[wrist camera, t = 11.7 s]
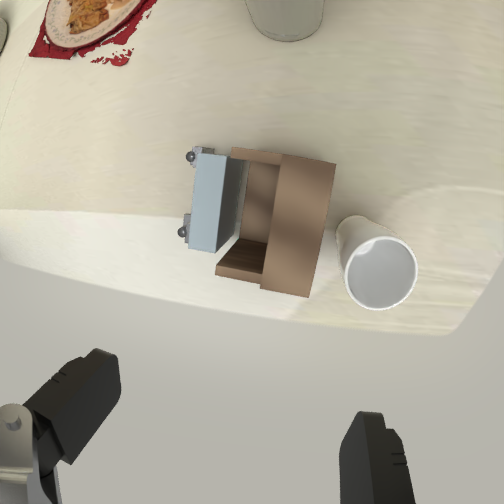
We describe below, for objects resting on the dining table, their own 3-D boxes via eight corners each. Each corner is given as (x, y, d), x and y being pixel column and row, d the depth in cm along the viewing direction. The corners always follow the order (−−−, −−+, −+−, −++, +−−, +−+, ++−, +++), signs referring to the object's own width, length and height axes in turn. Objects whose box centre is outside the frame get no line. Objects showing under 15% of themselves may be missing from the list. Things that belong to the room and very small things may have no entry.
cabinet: (253, 151, 38) (229, 146, 25) (325, 164, 37) (336, 164, 24) (239, 243, 41) (212, 278, 29) (307, 256, 40) (308, 297, 28)
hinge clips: (193, 146, 39) (179, 145, 34) (214, 149, 38) (202, 147, 34) (184, 231, 42) (169, 239, 37) (203, 234, 42) (190, 244, 37)
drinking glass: (344, 269, 40) (363, 325, 26) (319, 225, 39) (328, 261, 25) (388, 244, 38) (429, 288, 24) (365, 199, 37) (400, 220, 23)
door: (213, 154, 39) (188, 152, 30) (243, 157, 38) (226, 156, 30) (204, 229, 42) (179, 246, 33) (233, 234, 41) (215, 253, 33)
